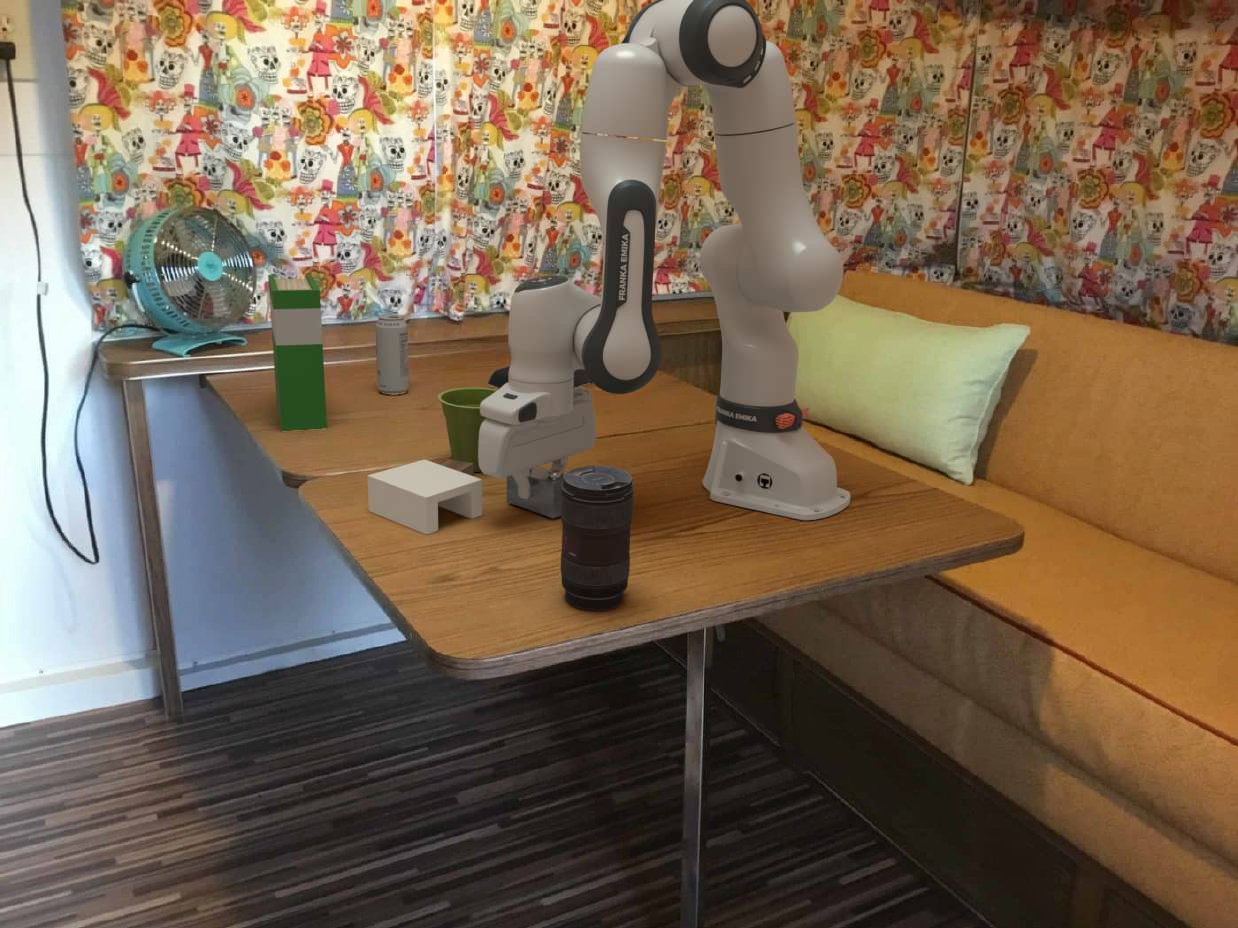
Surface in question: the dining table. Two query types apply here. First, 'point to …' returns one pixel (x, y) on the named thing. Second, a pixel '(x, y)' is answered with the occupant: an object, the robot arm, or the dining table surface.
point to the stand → (423, 494)
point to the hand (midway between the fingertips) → (539, 492)
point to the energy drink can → (392, 354)
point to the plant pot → (464, 421)
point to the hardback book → (298, 353)
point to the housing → (539, 492)
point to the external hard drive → (501, 378)
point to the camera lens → (596, 536)
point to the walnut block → (459, 466)
